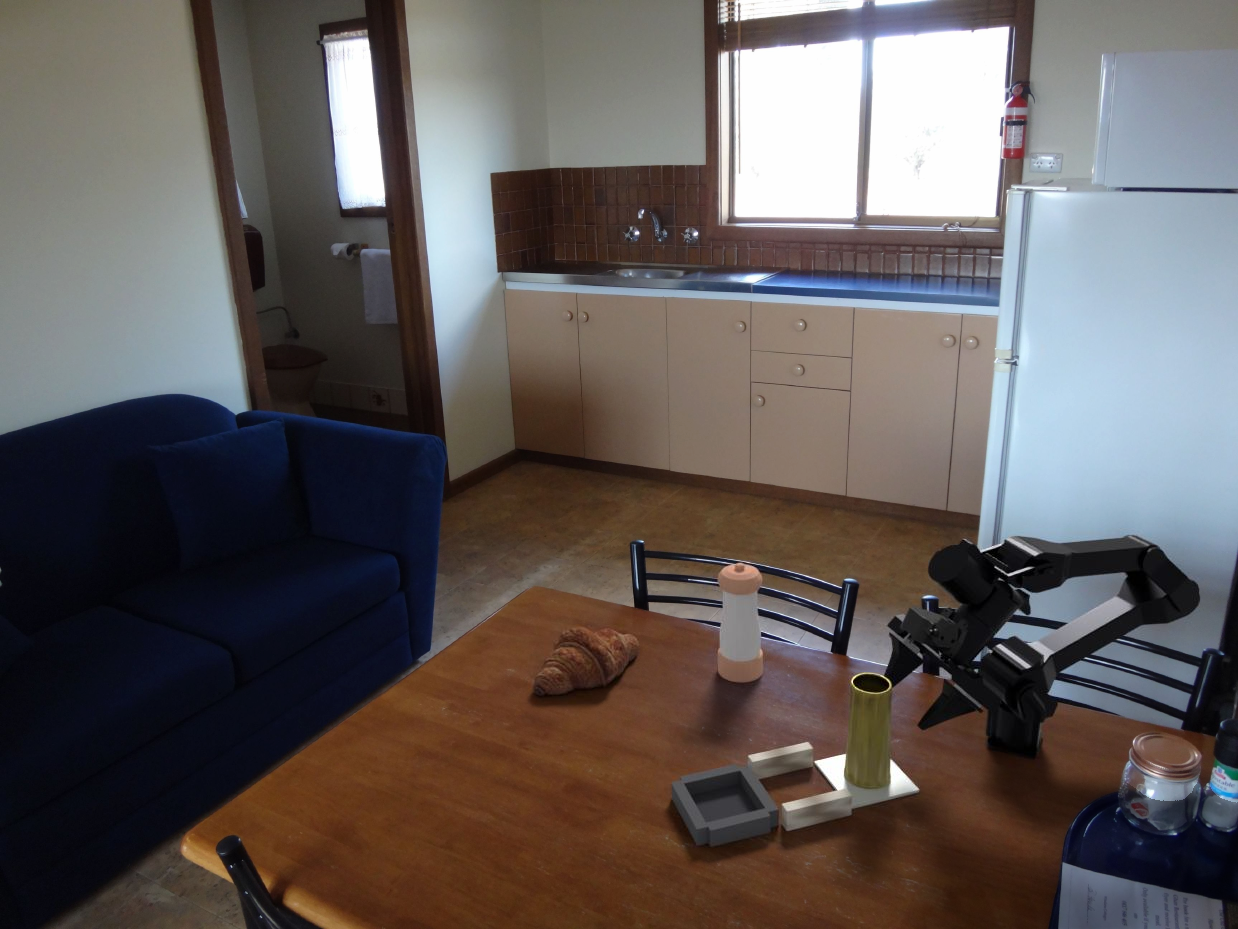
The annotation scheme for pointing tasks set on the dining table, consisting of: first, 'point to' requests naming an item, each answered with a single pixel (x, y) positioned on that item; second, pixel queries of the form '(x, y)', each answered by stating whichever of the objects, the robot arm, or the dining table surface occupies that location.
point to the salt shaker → (740, 624)
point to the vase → (869, 731)
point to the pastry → (585, 660)
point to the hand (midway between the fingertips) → (900, 709)
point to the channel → (807, 808)
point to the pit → (724, 805)
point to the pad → (865, 796)
